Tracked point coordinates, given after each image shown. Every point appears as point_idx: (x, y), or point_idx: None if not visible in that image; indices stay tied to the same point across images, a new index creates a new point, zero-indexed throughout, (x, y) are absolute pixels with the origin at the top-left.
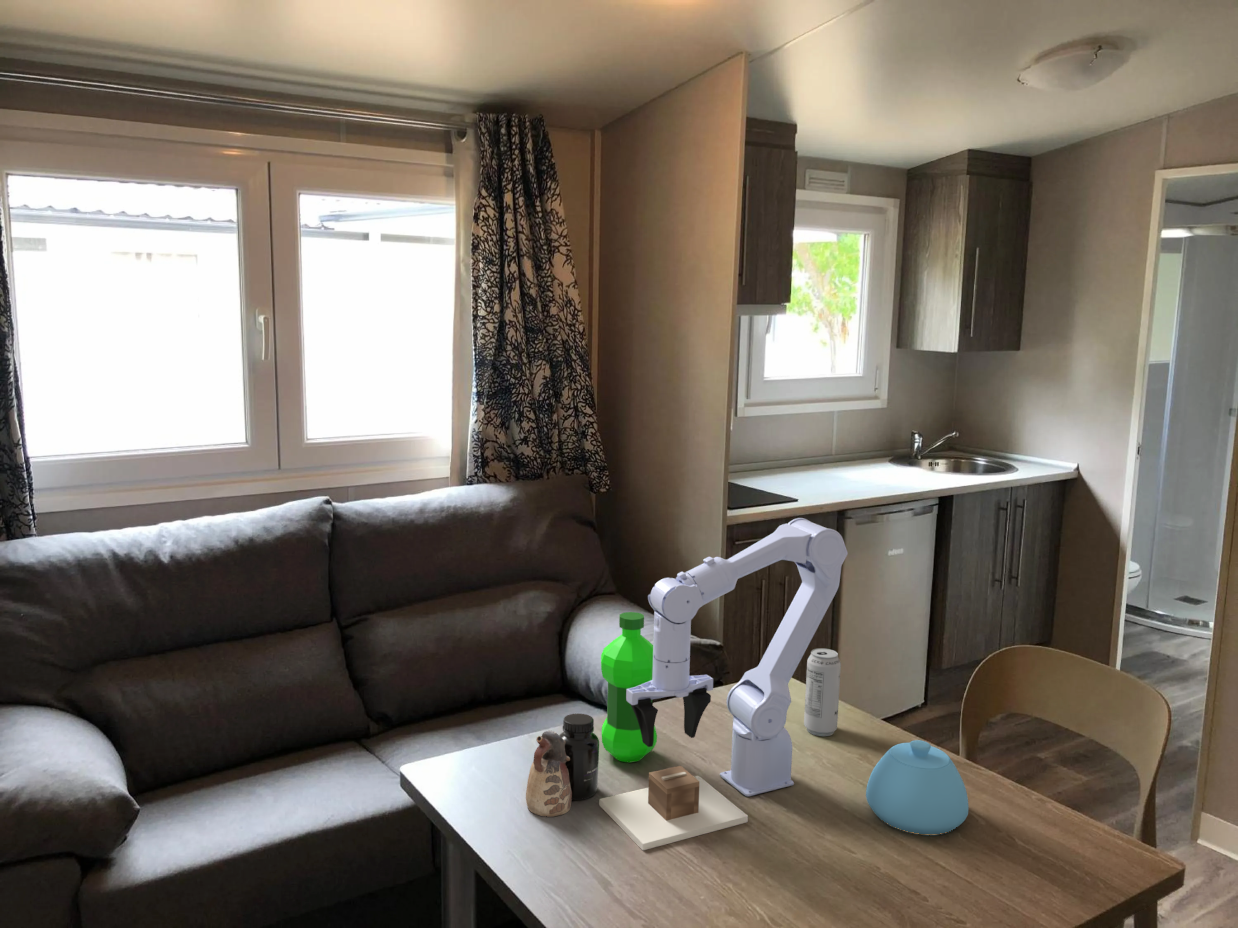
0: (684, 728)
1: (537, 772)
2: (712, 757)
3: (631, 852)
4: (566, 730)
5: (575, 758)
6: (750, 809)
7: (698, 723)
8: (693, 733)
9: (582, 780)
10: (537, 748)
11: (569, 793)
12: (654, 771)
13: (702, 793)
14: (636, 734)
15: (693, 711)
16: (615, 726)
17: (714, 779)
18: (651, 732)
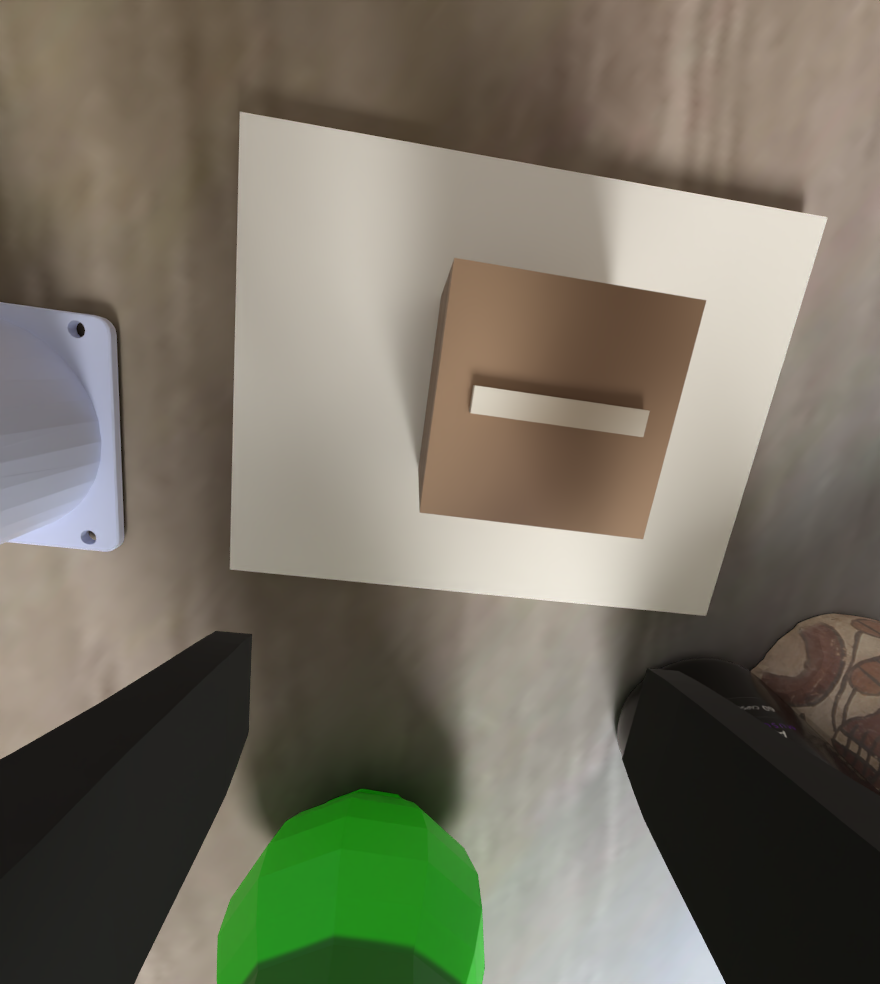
0: (233, 769)
1: None
2: (60, 684)
3: (842, 243)
4: None
5: None
6: (166, 221)
7: (96, 705)
8: (220, 646)
9: (781, 710)
10: None
11: (849, 666)
12: (605, 533)
13: (312, 429)
14: (387, 909)
15: (27, 941)
16: None
17: (163, 534)
18: (796, 762)
